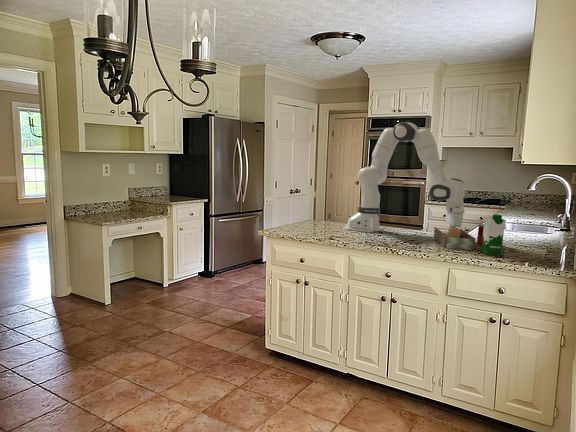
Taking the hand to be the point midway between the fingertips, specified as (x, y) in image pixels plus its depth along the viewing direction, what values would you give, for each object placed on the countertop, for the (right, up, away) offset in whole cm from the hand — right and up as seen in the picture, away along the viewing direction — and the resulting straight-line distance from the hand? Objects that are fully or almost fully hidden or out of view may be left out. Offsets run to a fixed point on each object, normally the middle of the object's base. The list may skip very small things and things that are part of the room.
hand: (452, 232), depth 243 cm
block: (-1, -2, -4) cm, 5 cm away
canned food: (+17, -7, -3) cm, 18 cm away
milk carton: (+9, -10, -26) cm, 29 cm away
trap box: (-1, -6, -4) cm, 7 cm away
